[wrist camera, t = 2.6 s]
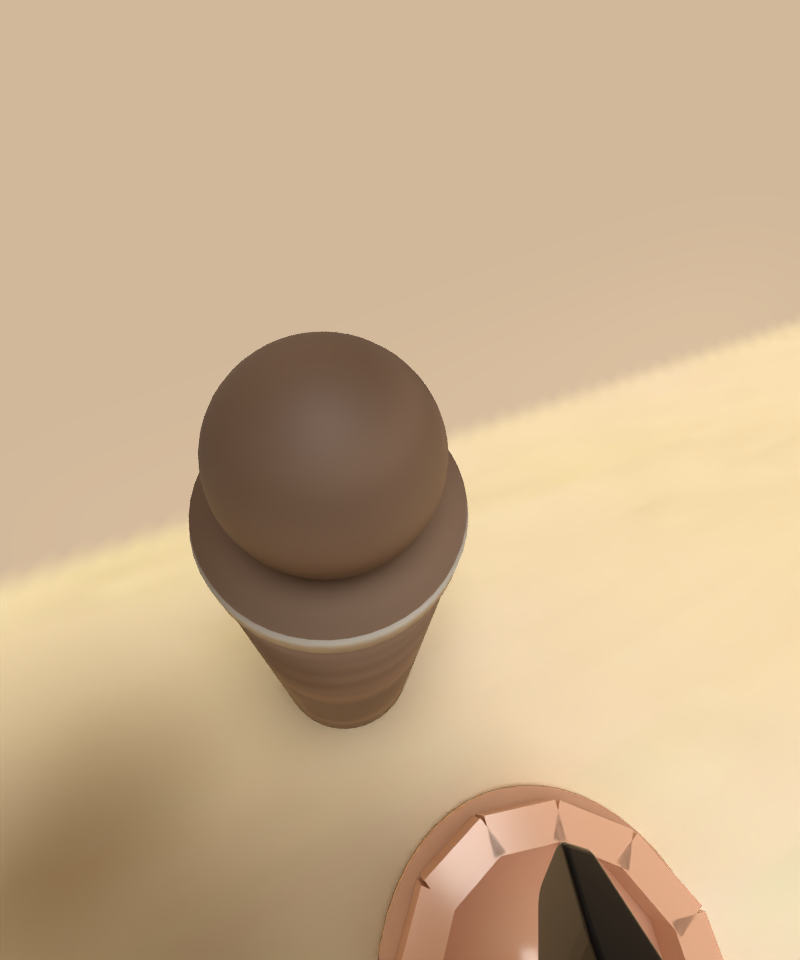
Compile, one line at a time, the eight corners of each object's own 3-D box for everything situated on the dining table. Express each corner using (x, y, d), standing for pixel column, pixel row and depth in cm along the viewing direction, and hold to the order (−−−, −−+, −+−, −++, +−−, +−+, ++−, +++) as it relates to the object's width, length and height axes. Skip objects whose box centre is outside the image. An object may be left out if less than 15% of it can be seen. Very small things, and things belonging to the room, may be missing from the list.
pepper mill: (435, 669, 19) (597, 403, 6) (334, 761, 17) (257, 665, 4) (358, 576, 20) (354, 209, 8) (258, 651, 19) (36, 343, 6)
